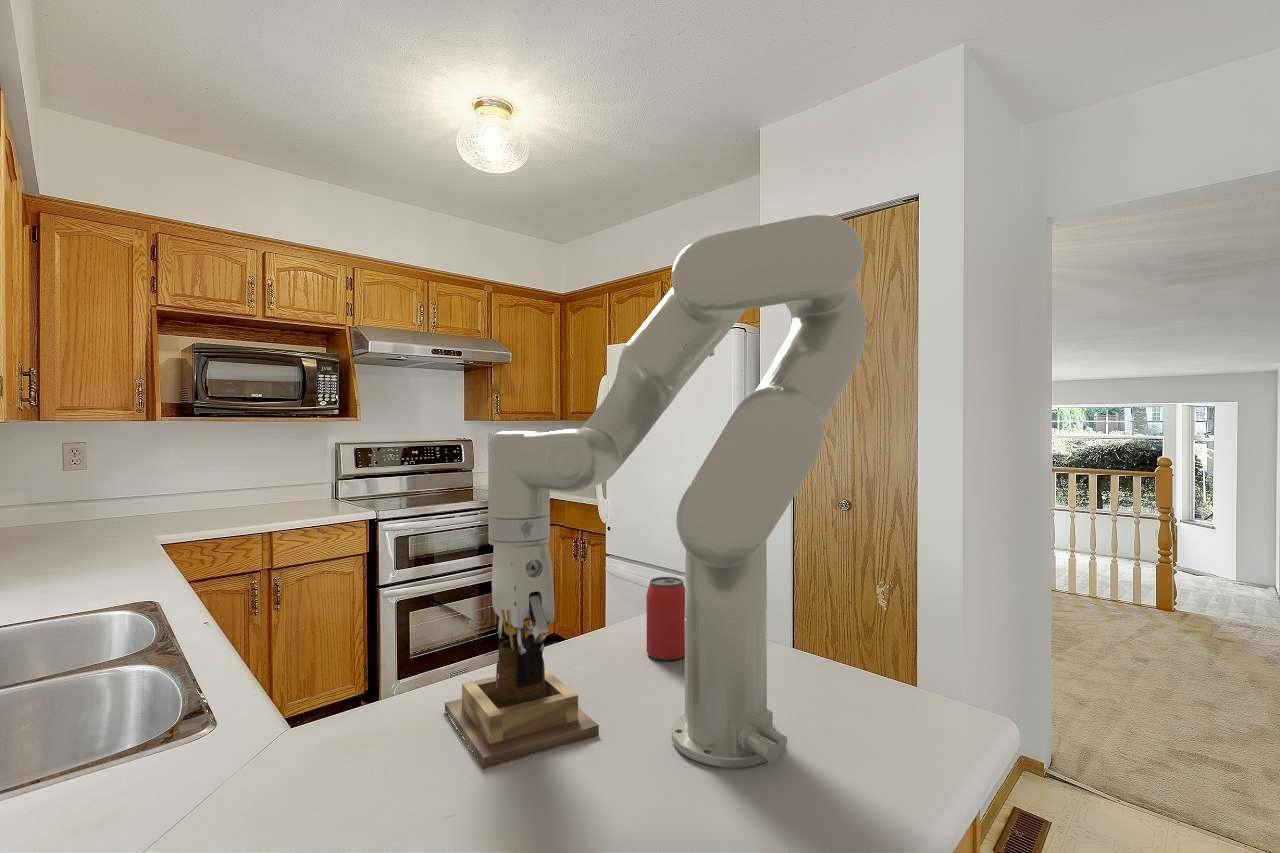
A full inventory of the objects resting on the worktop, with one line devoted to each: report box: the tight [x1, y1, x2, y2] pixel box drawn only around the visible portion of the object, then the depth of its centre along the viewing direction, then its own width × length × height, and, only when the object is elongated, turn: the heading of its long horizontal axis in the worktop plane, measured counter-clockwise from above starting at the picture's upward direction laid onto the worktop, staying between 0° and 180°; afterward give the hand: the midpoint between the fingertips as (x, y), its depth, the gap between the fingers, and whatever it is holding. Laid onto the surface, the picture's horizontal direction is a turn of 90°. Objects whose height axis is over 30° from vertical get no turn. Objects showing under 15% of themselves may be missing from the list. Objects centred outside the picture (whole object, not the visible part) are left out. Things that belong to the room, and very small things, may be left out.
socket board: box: [444, 668, 600, 769], centre depth 78 cm, size 16×14×4 cm
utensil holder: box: [495, 609, 546, 707], centre depth 78 cm, size 6×6×12 cm
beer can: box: [645, 576, 685, 662], centre depth 101 cm, size 7×7×12 cm
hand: (520, 674), depth 78 cm, fingers closed on utensil holder, 5 cm apart
